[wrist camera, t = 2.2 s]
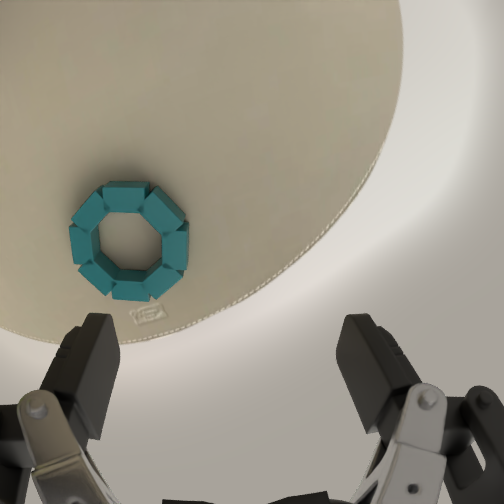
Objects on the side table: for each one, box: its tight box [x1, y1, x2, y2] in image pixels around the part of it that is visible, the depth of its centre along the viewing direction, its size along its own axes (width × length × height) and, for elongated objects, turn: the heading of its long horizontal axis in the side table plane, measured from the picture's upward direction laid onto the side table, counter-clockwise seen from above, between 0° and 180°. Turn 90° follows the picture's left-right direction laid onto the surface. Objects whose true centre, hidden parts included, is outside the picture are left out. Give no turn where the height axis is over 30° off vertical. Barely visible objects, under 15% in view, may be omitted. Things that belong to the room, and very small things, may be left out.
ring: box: [69, 181, 189, 302], centre depth 25 cm, size 10×10×2 cm
